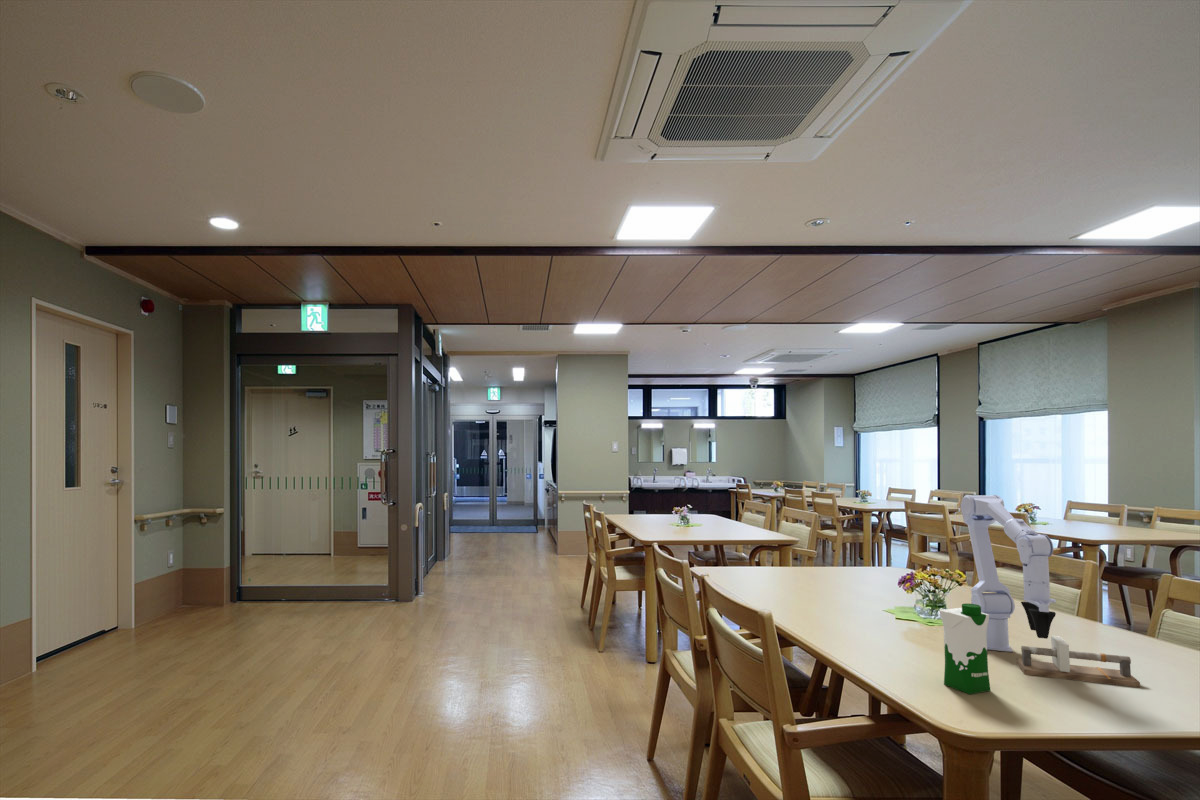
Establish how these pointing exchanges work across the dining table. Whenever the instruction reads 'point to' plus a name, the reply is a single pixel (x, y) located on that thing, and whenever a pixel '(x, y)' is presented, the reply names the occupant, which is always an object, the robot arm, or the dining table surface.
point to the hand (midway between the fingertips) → (1038, 634)
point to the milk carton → (966, 648)
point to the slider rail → (1078, 667)
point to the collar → (1061, 653)
